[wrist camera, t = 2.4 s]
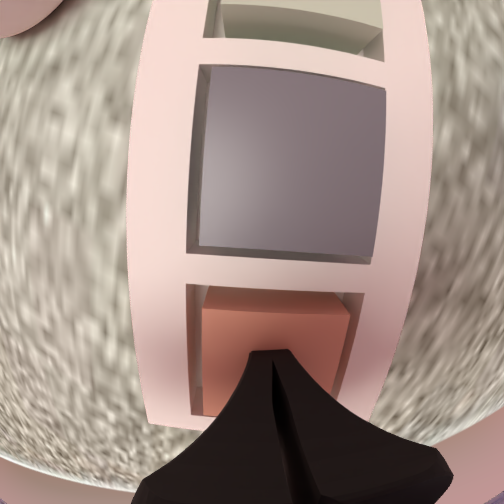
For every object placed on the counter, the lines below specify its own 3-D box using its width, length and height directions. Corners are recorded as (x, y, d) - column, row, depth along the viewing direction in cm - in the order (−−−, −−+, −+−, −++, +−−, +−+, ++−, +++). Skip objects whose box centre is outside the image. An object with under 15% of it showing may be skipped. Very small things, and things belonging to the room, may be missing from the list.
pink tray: (385, -16, 9) (409, -44, 6) (348, 390, 14) (365, 427, 11) (188, -41, 8) (178, -76, 6) (162, 383, 14) (148, 422, 11)
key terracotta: (331, 287, 12) (350, 314, 9) (312, 381, 13) (322, 417, 10) (210, 280, 11) (201, 308, 9) (209, 377, 13) (203, 415, 10)
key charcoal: (356, 107, 9) (386, 90, 7) (345, 238, 10) (372, 256, 8) (219, 91, 9) (211, 66, 7) (210, 228, 10) (199, 245, 8)
